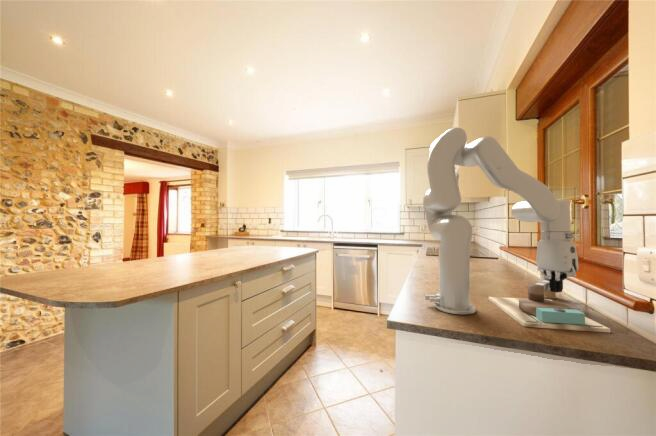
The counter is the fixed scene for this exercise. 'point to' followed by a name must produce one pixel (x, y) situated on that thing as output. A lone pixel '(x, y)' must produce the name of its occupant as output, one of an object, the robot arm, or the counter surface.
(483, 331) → the counter surface
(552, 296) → the sprinkles bottle
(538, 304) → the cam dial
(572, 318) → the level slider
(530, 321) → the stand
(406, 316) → the counter surface
